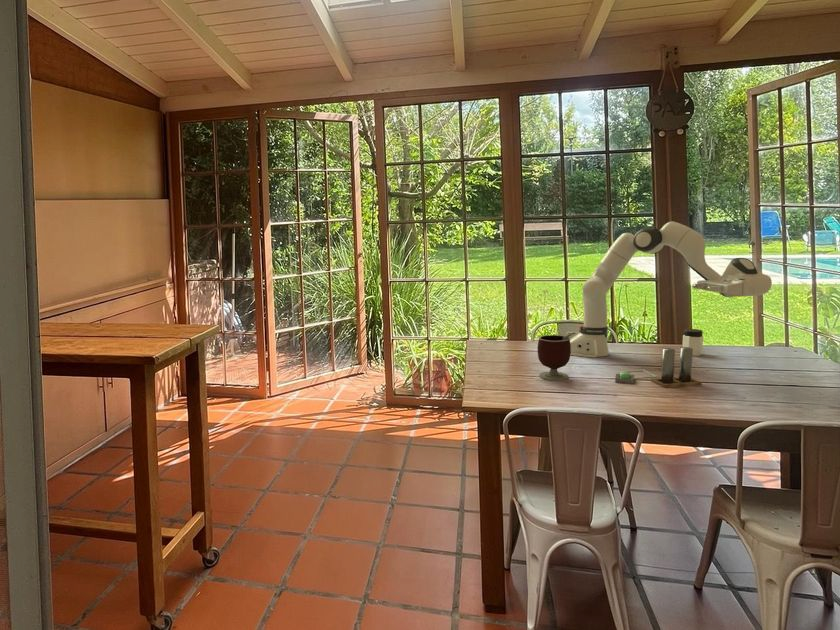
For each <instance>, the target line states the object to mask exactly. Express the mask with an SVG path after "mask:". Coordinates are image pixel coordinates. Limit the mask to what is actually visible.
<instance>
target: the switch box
mask: <svg viewBox="0 0 840 630" xmlns="http://www.w3.org/2000/svg"><path fill="white" fill-rule="evenodd" d="M634 377H635V374H630V378H620V373H615V377H614V378H615V380H614V382H615V383H617V384H629V385H634V384H635V379H634Z"/></svg>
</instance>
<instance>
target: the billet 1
mask: <svg viewBox="0 0 840 630" xmlns="http://www.w3.org/2000/svg"><path fill="white" fill-rule="evenodd" d="M661 353H662V356H661V357H662V358H661V375H660V376H661V377H660V378H661V382H662V383H664V384H670V383H673V379H674V377H675V375H674V374H675V359H676V358H675V355H676V349H675V348H671V347H670V348H669V347H664V348H662V352H661Z"/></svg>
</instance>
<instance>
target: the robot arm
mask: <svg viewBox="0 0 840 630" xmlns="http://www.w3.org/2000/svg"><path fill="white" fill-rule="evenodd" d="M705 241H706V240H705V237H704V236H703V235H702V234H701V233H700V232H699V231H696V230H694V229H692V228H691V227H689V226H687V225H684V224H682V223H679V222H676V221H668V222H667V223H665V224H664V225H663V226H662V227H661V228H660V229H659V228H653V227H652V228H648V227H647V228H642V229H639V230H638V231H637V232H635V234H633V233H631V232H624V233H622V234H620V235H619V236H618V237H617V238H616V240H615V241H613V243H612V245H611V246H610V247H609V248H608V250H607V251H606V252H605V254H604V256H603V257H602V259H600V261H599V263H598V265H597V266H596V267H595V270H594V272H593V273H592V275H591V276H590V278H588V279H587V280H585V282H584V283H583V284H582V304H583V324H580V325H579V327H578V328H579V329H578V330H579V331H578V333H577V334H575V335H574V336H573V337H571V338H570V344H571V354H570V356H574V357H585V358H598V357H599V358H601V357H606V356H609V355H610V349H609V347H608V346H609V345H608V336H609V334H608V333H609V331H608V330H609V329H608V306H607V305H608V304H607V294H608V293H609V291H610V290H611V288H612V286H613V285H614V283H615V282H616V280H617V279H618V278H619V276H620V275H621V273H623V270H624V269H625V268H626V266H627V265H628V264H629V262H630V260H632V258H633V256H634V255H635V254H636V253H637V252H641V253H645V254H651V255H654V254H658V253H661V252H662V251H663V250H664V249H665V248H666V246H668V247H670V248H672V249H674V250H676V251H677V252H678V253H679V254H680V255H682V256H683V258H684V259H685V261H686V265H687V266H688V267H689V268H690V269H691V270H692V271H693V272H695V273H696V275H697V274H698V275H699V276H700V277H701V278H702V279H703V280H702V279H701V280H698V281H696V283H692V289H695V290H702V291H707V292H712V293H718V294H720V295H721V296H722V297H725V298H737V297H754V296H755V297H758V296H763V295H766V294H767V293H769V291H770V290H771V288H772V285H773V284H772V283H773V282H772V278H771V277H770V276H769V275H768V274H765V273H762V272H761V271H759V270H758V269H757V267H756V266H755V264H754V262H753V261H752V260H750V259H749V258H745V257H736V258H733V259H731V261H729V263H728V265H727V266H726V268H725V270H724V272H723V273H722V275H720V273H718V272H717V271H716V270H715V269H713V268H712V267H710V265H709V264H708V263H707V262H706V258H705V257H706V256H705V254H706V253H705V251H706V242H705Z"/></svg>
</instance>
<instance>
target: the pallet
mask: <svg viewBox="0 0 840 630" xmlns="http://www.w3.org/2000/svg"><path fill="white" fill-rule="evenodd" d="M650 382H651V383H653V384H656V385H657V386H660V387H661V388H665V389H666V388H681V387H692V386H693V387H695V386H697V387H698V386H703V382H702V381H699V380H697V379H694V378H692V377H691V382H685V383H682V382H680V381H679V376H678V377H677V376H676V377H675V376H674V379H673V383H670V384H664V383H662V382H661V377H660V378H659V377H655V378H650Z"/></svg>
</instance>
